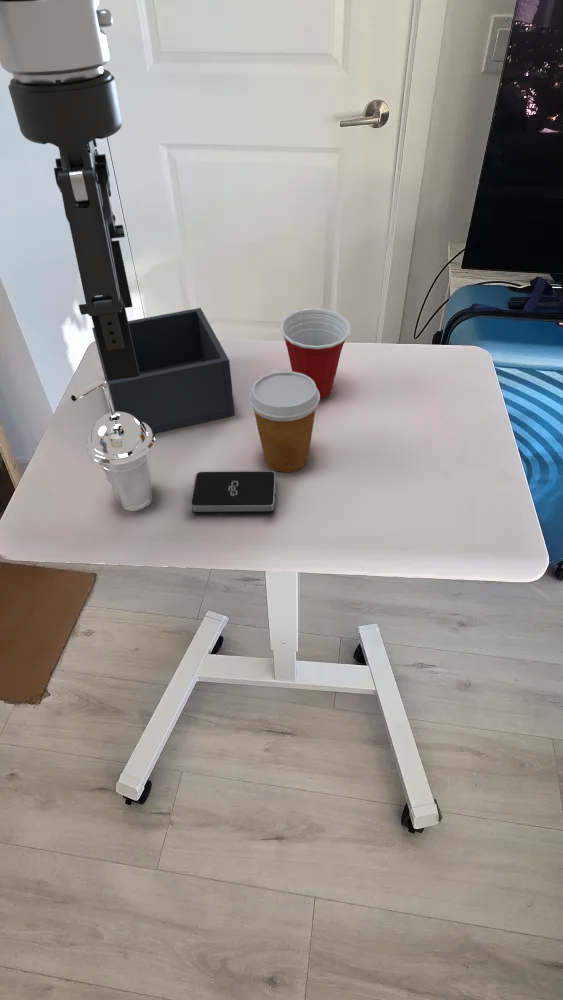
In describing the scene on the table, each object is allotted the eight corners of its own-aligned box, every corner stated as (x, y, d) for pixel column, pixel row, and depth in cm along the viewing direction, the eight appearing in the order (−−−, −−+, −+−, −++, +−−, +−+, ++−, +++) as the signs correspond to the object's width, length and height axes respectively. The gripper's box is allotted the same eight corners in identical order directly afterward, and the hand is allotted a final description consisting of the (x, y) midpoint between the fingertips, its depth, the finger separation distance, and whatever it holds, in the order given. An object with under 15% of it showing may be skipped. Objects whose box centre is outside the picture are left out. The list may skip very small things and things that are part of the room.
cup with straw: (178, 502, 85) (152, 374, 71) (118, 532, 81) (78, 404, 67) (148, 470, 90) (119, 346, 76) (90, 498, 86) (48, 372, 72)
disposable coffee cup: (331, 450, 92) (333, 380, 83) (297, 488, 86) (295, 417, 78) (276, 431, 96) (273, 362, 87) (240, 466, 90) (233, 396, 82)
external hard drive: (198, 482, 88) (196, 471, 86) (277, 481, 87) (276, 470, 86) (191, 517, 82) (189, 506, 81) (275, 516, 82) (275, 506, 81)
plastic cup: (299, 417, 98) (298, 349, 90) (271, 383, 105) (268, 317, 97) (359, 399, 101) (364, 331, 93) (329, 367, 108) (330, 302, 100)
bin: (121, 441, 95) (106, 384, 88) (105, 380, 108) (91, 327, 101) (235, 415, 99) (229, 359, 92) (207, 360, 111) (200, 307, 105)
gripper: (117, 104, 36) (172, 406, 51) (109, 43, 54) (152, 279, 69) (-17, 115, 35) (78, 420, 50) (20, 49, 53) (82, 288, 68)
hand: (121, 339), depth 59 cm, fingers open, 13 cm apart
